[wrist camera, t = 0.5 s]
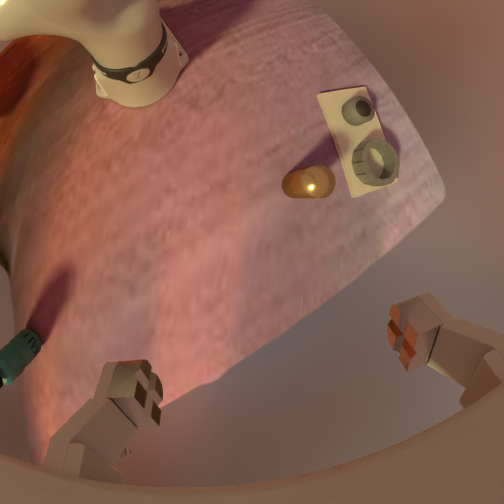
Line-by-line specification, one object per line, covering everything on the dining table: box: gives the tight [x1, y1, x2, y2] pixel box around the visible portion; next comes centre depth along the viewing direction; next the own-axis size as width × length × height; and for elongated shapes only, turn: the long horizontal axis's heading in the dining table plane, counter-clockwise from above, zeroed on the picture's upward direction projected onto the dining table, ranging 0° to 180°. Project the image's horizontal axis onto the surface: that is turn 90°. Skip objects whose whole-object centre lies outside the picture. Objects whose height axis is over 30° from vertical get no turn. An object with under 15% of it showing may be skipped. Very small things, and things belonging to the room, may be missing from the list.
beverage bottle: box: [0, 329, 41, 388], centre depth 38 cm, size 6×7×20 cm
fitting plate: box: [316, 87, 400, 198], centre depth 50 cm, size 22×12×6 cm, turn 20°
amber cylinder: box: [282, 165, 335, 198], centre depth 47 cm, size 5×5×12 cm
